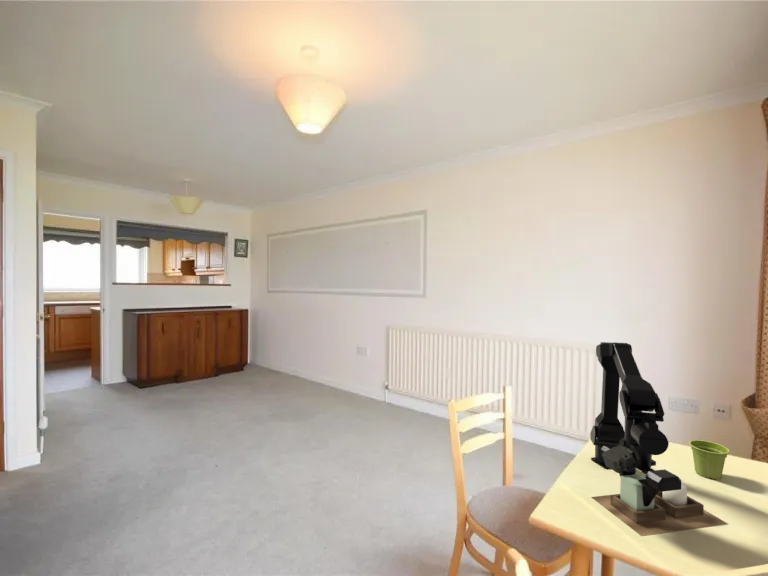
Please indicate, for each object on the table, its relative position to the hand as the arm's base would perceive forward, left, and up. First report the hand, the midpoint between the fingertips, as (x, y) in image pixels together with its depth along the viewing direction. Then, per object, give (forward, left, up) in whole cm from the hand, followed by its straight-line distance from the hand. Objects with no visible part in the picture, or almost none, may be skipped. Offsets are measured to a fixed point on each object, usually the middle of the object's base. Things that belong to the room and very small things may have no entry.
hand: (637, 499), depth 97 cm
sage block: (0, 0, -1) cm, 1 cm away
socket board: (0, +5, -4) cm, 7 cm away
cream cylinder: (0, +11, -3) cm, 11 cm away
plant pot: (-14, +38, -4) cm, 41 cm away
